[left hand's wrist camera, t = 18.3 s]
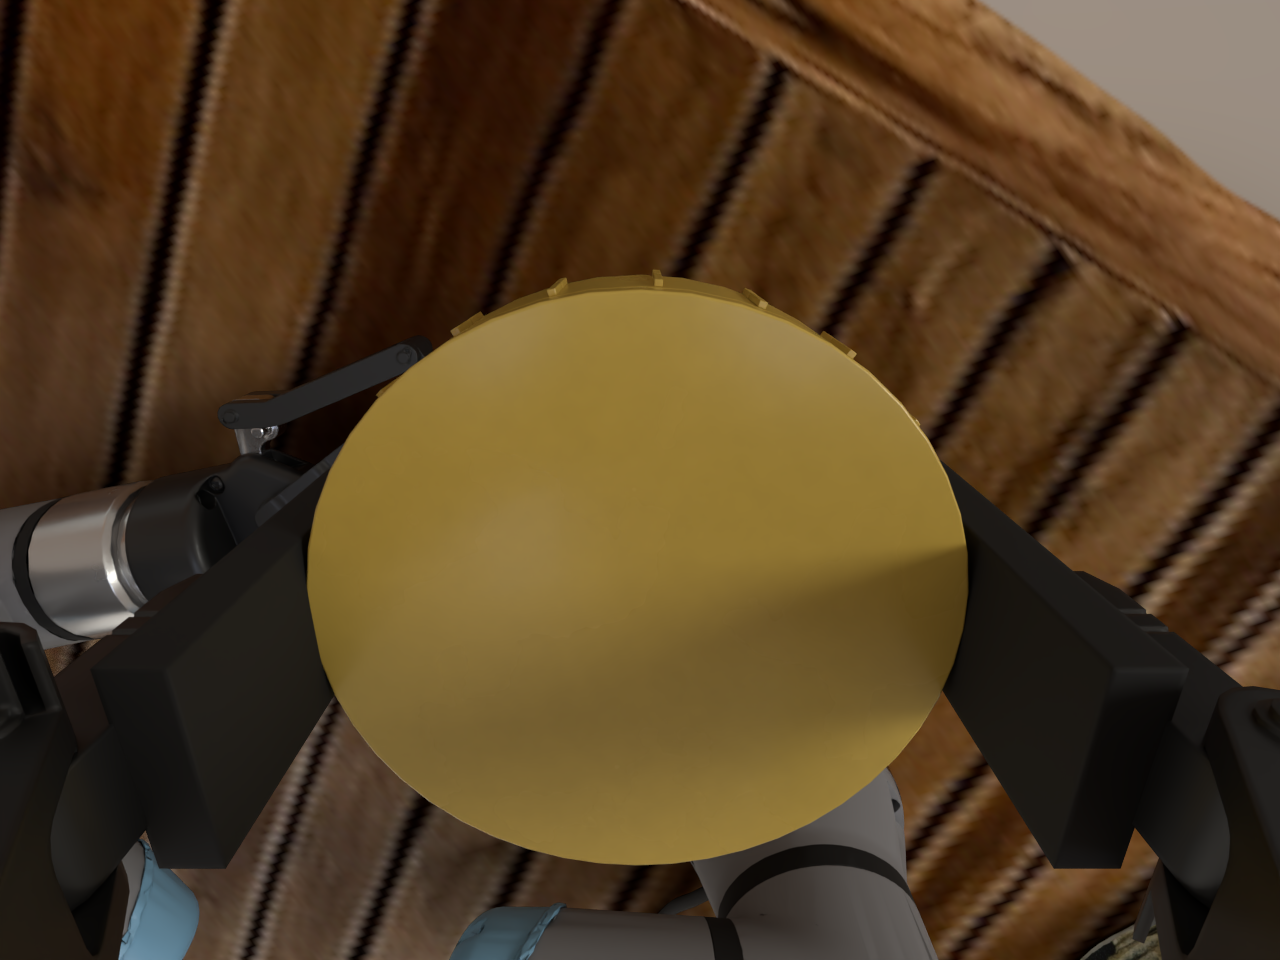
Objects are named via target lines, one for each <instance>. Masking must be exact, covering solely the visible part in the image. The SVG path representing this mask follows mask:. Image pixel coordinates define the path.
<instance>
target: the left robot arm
mask: <svg viewBox="0 0 1280 960" xmlns="http://www.w3.org/2000/svg"><path fill="white" fill-rule="evenodd" d="M939 460H940V459H939ZM940 462H941V464H942V466H943V468H944V470H945V472H946V474H947V475H948V478H949V481H950V484H951V487H952V490H953V493H954V496H955V499H956V501H957V504H958V507H959V510H960V513H961V518H962V524H963V529H964V535H965V541H966V546H967V552H968V600H967V607H966V615H965V622H964V630H963V633H962V637H961V640H960V644H959V647H958V651H957V654H956V658H955V661H954V665H953V667H952V669H951V671H950V674H949V676H948V678H947V680H946V683H945V685H944V687H943V689H942V691H943V692H944V694H945V695H946V697H947V699H948V700H949V702H950V703H951V705H952V707H953V708H954V710H955V711H956V713H957V715H958V716H959V718H960V719H961V721H962V723H963V724H964V726H965V727H966V729H967V731H968V732H969V734H970V735H971V737H972V739H973V740H974V742H975V743H976V745H977V747H978V748H979V750H980V751H981V753H982V754H983V756H984V758H985V759H986V761H987V762H988V764H989V766H990V767H991V769H992V770H993V772H994V774H995V775H996V777H997V778H998V780H999V782H1000V783H1001V785H1002V786H1003V788H1004V790H1005V791H1006V793H1007V794H1008V796H1009V798H1010V799H1011V801H1012V802H1013V804H1014V806H1015V807H1016V809H1017V810H1018V812H1019V814H1020V815H1021V817H1022V818H1023V820H1024V822H1025V823H1026V825H1027V826H1028V828H1029V830H1030V831H1031V833H1032V834H1033V836H1034V838H1035V839H1036V841H1037V842H1038V844H1039V845H1040V847H1041V849H1042V850H1043V852H1044V853H1045V855H1046V857H1047V858H1048V860H1049V861H1050V863H1051V865H1052V866H1053V868H1054V869H1121V866H1122V863H1123V860H1124V857H1125V854H1126V851H1127V848H1128V845H1129V843H1130V840H1131V837H1132V834H1133V831H1134V828H1136V829H1137V831H1138V832H1139V833H1140V834H1141V836H1142V837H1143V838H1144V839H1145V841H1146V842H1147V843H1148V844H1149V846H1150V847H1151V848H1152V850H1153V851H1154V852H1155V853H1156V855H1157V856H1158V857H1159V860H1158V862H1157V865H1156V868H1155V870H1154V873H1153V876H1152V878H1151V881H1150V884H1149V887H1148V889H1147V892H1146V895H1145V897H1144V900H1143V903H1142V905H1141V908H1140V911H1139V913H1138V916H1137V919H1136V922H1135V925H1134V932H1133V938H1132V939H1133V940H1136V941H1138V942H1141V943H1145V940H1146V938H1147V935H1148V933H1149V930H1150V927H1152V926H1154V925H1156V927H1157V933H1158V940H1159V946H1160V952H1161V958H1162V960H1280V690H1275V689H1268V688H1262V687H1256V686H1249V687H1242V686H1241V685H1240V684H1239V683H1237V682H1236V681H1235V680H1234V679H1232V678H1231V677H1230V676H1229V675H1227V674H1226V673H1225V672H1224V671H1222V670H1221V669H1220V668H1219V667H1217V666H1216V665H1215V664H1213V663H1212V662H1211V661H1210V660H1208V659H1207V658H1206V657H1205V656H1203V655H1202V654H1201V653H1200V652H1198V651H1197V650H1196V649H1195V648H1193V647H1192V646H1191V645H1190V644H1188V643H1187V642H1186V641H1185V640H1183V639H1182V638H1181V637H1179V636H1178V635H1177V634H1176V633H1174V632H1169V631H1168V627H1167V626H1166V625H1164V624H1163V623H1162V622H1161V621H1159V620H1158V619H1157V618H1156V617H1154V616H1153V615H1152V614H1146V609H1144V608H1143V607H1142V606H1140V605H1139V604H1138V603H1137V602H1135V601H1134V600H1133V599H1132V598H1130V597H1129V596H1128V595H1127V594H1125V593H1124V592H1123V591H1122V590H1120V589H1119V588H1117V587H1115V586H1113V585H1111V584H1108V583H1106V582H1104V581H1102V580H1100V579H1098V578H1096V577H1094V576H1092V575H1090V574H1088V573H1086V572H1084V571H1072V570H1071V569H1070V568H1068V567H1067V566H1066V565H1065V564H1064V563H1063V562H1061V561H1060V560H1059V559H1058V558H1057V557H1055V556H1054V555H1053V554H1052V553H1051V552H1049V551H1048V550H1047V549H1046V548H1045V547H1043V546H1042V545H1041V544H1040V543H1039V542H1037V541H1036V540H1035V539H1034V538H1033V537H1032V536H1030V535H1029V534H1028V533H1027V532H1026V531H1024V530H1023V529H1022V528H1021V527H1020V526H1018V525H1017V524H1016V523H1015V522H1014V521H1012V520H1011V519H1010V518H1009V517H1008V516H1007V515H1005V514H1004V513H1003V512H1002V511H1001V510H999V509H998V508H997V507H996V506H995V505H993V504H992V503H991V502H990V501H989V500H987V499H986V498H985V497H984V496H983V495H981V494H980V493H979V492H978V491H977V490H976V489H974V488H973V487H972V486H971V485H970V484H968V483H967V482H966V481H965V480H964V479H962V478H961V477H960V476H959V475H958V474H956V473H955V472H954V471H953V470H952V469H951V468H949V467H948V466H947V465H946V464H945V463H943V462H942V461H941V460H940ZM331 467H332V466H331ZM331 467H330V468H329V469H328V470H327V471H325V472H324V473H323V474H322V475H321V476H319V477H318V478H317V479H316V480H315V481H314V482H312V483H311V484H310V485H309V486H308V487H306V488H305V489H304V490H303V491H302V492H300V493H299V494H298V495H297V496H296V497H294V498H293V499H292V500H291V501H290V502H288V503H287V504H286V505H285V506H284V507H283V508H281V509H280V510H279V511H278V512H277V513H275V514H274V515H273V516H272V517H271V518H269V519H268V520H267V521H266V522H265V523H263V524H262V525H261V526H260V527H259V528H257V529H256V530H255V531H254V532H253V533H252V534H250V535H249V536H248V537H247V538H246V539H244V540H243V541H242V542H241V543H240V544H238V545H237V546H236V547H235V548H234V549H232V550H231V551H230V552H229V553H228V554H227V555H225V556H224V557H223V558H222V559H221V560H219V561H218V562H217V563H216V564H215V565H213V566H212V567H211V568H210V569H209V570H207V571H206V572H205V573H204V574H195V575H193V576H191V577H189V578H187V579H185V580H183V581H181V582H179V583H177V584H175V585H173V586H171V587H169V588H167V589H165V590H163V591H161V592H159V593H158V594H157V595H156V596H154V597H153V598H152V599H151V600H149V601H148V602H147V603H146V604H144V605H143V606H142V607H141V608H139V609H138V610H137V611H136V612H134V617H128V618H127V619H126V620H124V621H123V622H122V623H121V624H119V625H118V626H117V627H116V628H114V629H113V630H112V635H106V636H104V637H103V638H102V639H101V640H99V641H98V642H97V643H96V644H94V645H93V646H92V647H91V648H89V649H88V650H87V651H86V652H84V653H83V654H82V655H81V656H79V657H78V658H77V659H76V660H74V661H73V662H72V663H71V664H69V665H68V666H67V667H66V668H64V669H63V670H62V671H61V672H59V673H58V674H57V675H56V676H53V673H52V671H51V668H50V665H49V663H48V660H47V657H46V654H45V652H44V649H43V646H42V644H41V641H40V638H39V636H38V633H37V630H36V629H34V628H32V627H30V626H29V625H27V624H25V623H16V622H0V960H119V954H120V948H121V942H122V936H123V930H124V924H125V918H126V912H127V905H128V899H129V893H130V889H129V882H128V876H127V873H126V870H125V868H124V865H123V862H122V859H123V858H124V857H125V855H126V854H127V853H128V852H129V850H130V849H131V848H132V847H133V845H134V844H135V843H136V842H137V840H138V839H139V838H140V837H141V835H142V834H143V833H144V832H145V830H146V833H147V836H148V838H149V841H150V844H151V847H152V850H153V853H154V856H155V859H156V862H157V864H158V867H159V869H226V867H227V865H228V864H229V862H230V861H231V859H232V857H233V856H234V854H235V853H236V851H237V850H238V848H239V846H240V845H241V843H242V842H243V840H244V838H245V837H246V835H247V834H248V832H249V830H250V829H251V827H252V826H253V824H254V822H255V821H256V819H257V818H258V816H259V814H260V813H261V811H262V810H263V808H264V806H265V805H266V803H267V802H268V800H269V798H270V797H271V795H272V794H273V792H274V790H275V789H276V787H277V786H278V784H279V782H280V781H281V779H282V778H283V776H284V774H285V773H286V771H287V770H288V768H289V767H290V765H291V763H292V762H293V760H294V759H295V757H296V755H297V754H298V752H299V751H300V749H301V747H302V746H303V744H304V743H305V741H306V739H307V738H308V736H309V735H310V733H311V731H312V730H313V728H314V727H315V725H316V723H317V722H318V720H319V719H320V717H321V715H322V714H323V712H324V711H325V709H326V707H327V706H328V704H329V703H330V701H331V699H332V698H333V696H334V695H335V694H334V692H333V689H332V687H331V685H330V682H329V680H328V678H327V675H326V673H325V671H324V668H323V666H322V662H321V658H320V653H319V648H318V643H317V638H316V633H315V628H314V623H313V618H312V613H311V608H310V603H309V597H308V592H307V586H306V582H307V556H308V544H309V539H310V534H311V529H312V524H313V519H314V514H315V509H316V506H317V503H318V501H319V498H320V495H321V492H322V490H323V487H324V484H325V481H326V479H327V476H328V473H329V470H330V469H331ZM690 862H691V864H692V865H693V867H694V869H695V871H696V873H697V874H698V876H699V878H700V881H701V883H702V885H703V887H701V888H699V889H697V890H695V891H693V892H691V893H688V894H686V895H683V896H680V897H678V898H676V899H674V900H672V901H671V902H669V903H668V904H667V905H665V906H664V908H663V909H662V910H661V911H660V912H659V913H658V914H653V913H638V912H623V911H608V910H593V909H578V908H567V907H566V904H564V903H555V904H553V905H552V906H551V907H497V908H493V909H490V910H488V911H486V912H484V913H483V914H481V915H480V916H479V917H477V918H476V919H475V920H474V921H473V922H472V923H471V924H470V925H469V927H468V928H467V929H466V930H465V932H464V933H463V935H462V936H461V938H460V940H459V942H458V943H457V945H456V947H455V949H454V951H453V953H452V955H451V957H450V959H449V960H938V958H937V955H936V953H935V950H934V948H933V946H932V943H931V941H930V938H929V936H928V933H927V931H926V929H925V926H924V924H923V921H922V919H921V916H920V914H919V912H918V910H917V907H916V905H915V902H914V900H913V897H912V895H911V892H910V890H909V887H908V885H907V877H906V855H905V837H904V814H903V806H902V802H901V796H900V793H899V789H898V787H897V785H896V782H895V780H894V778H893V776H892V773H891V771H890V769H889V767H888V766H887V767H886V768H885V769H884V770H883V771H882V772H881V773H880V774H879V775H878V776H877V777H876V778H875V779H873V780H872V781H871V782H870V783H869V784H868V785H866V786H865V787H864V788H862V789H861V790H860V791H859V792H857V793H856V794H855V795H853V796H852V797H851V798H849V799H848V800H847V801H845V802H844V803H843V804H841V805H840V806H838V807H836V808H835V809H833V810H831V811H830V812H828V813H826V814H825V815H823V816H821V817H820V818H818V819H817V820H815V821H813V822H812V823H810V824H807V825H805V826H803V827H801V828H799V829H797V830H795V831H792V832H790V833H788V834H786V835H784V836H782V837H780V838H777V839H774V840H772V841H769V842H766V843H763V844H760V845H757V846H754V847H751V848H748V849H746V850H742V851H738V852H734V853H730V854H726V855H721V856H717V857H713V858H709V859H702V860H695V861H690ZM707 900H709V901H710V904H711V906H712V908H713V910H714V913H715V915H716V917H717V918H715V917H702V916H683V915H676V914H677V913H679V912H681V911H684V910H687V909H690V908H693V907H695V906H697V905H699V904H701V903H703V902H705V901H707Z"/></svg>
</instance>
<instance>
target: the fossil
mask: <svg viewBox="0 0 1280 960" xmlns="http://www.w3.org/2000/svg"><path fill="white" fill-rule="evenodd" d="M1134 925H1135V924H1134ZM1134 925H1132V926H1130V927H1128V928H1126V929H1124V930H1122V931H1120V932H1119V933H1117V934H1115V935H1113V936H1111V937H1109V938H1108V939H1106V940H1105V941H1103V942H1101V943H1099V944H1098V945H1097V946H1095V947H1094V948H1093V949H1091V950H1090V951H1089V952H1088V953H1087V954H1086V955H1085V956H1084V957H1083V958H1082V959H1080V960H1162V958H1161V952H1160V946H1159V940H1158V933H1157V927H1156V925H1154V926H1152V927H1150V930H1149V933H1148V935H1147V938H1146V940H1145V943H1141V942H1138V941H1136V940H1133V939H1132V938H1133V932H1134Z"/></svg>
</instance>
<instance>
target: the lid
mask: <svg viewBox="0 0 1280 960" xmlns="http://www.w3.org/2000/svg"><path fill="white" fill-rule="evenodd" d="M451 333H452V334H453V336H454V337H453V338H451V339H450V340H448V341H447V342H445V343H444V344H443V345H441V346H440V347H438V348H437V349H436V350H434V351H433V352H431V353H430V354H428V355H427V356H426V357H424V358H423V359H421V360H420V361H418V362H417V363H416V364H414V365H413V366H411V367H410V368H409V369H408V370H407V371H406V372H405V373H404V374H403V375H401V376H400V377H398V378H397V379H395V380H394V381H393V382H391V383H390V384H388V385H387V386H385V387H384V388H383V389H381V390H380V391H379V392H378V393H377V396H378V398H377V399H376V401H375V402H374V403H373V405H372V406H371V407H370V408H369V410H368V411H367V412H366V414H365V415H364V416H363V417H362V419H361V420H360V421H359V423H358V424H357V425H356V426H355V428H354V429H353V430H352V432H351V433H350V434H349V436H348V438H347V440H346V442H345V443H344V445H343V447H342V449H341V451H340V452H339V454H338V456H337V458H336V460H335V461H334V463H333V465H332V467H331V469H330V470H329V473H328V476H327V479H326V481H325V484H324V487H323V490H322V492H321V495H320V498H319V501H318V503H317V506H316V509H315V514H314V519H313V524H312V529H311V534H310V539H309V544H308V556H307V582H306V586H307V592H308V597H309V603H310V608H311V613H312V618H313V623H314V628H315V633H316V638H317V643H318V648H319V653H320V658H321V662H322V666H323V668H324V671H325V673H326V675H327V678H328V680H329V682H330V685H331V687H332V689H333V692H334V694H335V696H336V697H337V699H338V701H339V702H340V704H341V706H342V707H343V709H344V711H345V712H346V714H347V716H348V717H349V719H350V721H351V722H352V724H353V726H354V727H355V728H356V730H357V731H358V732H359V733H360V735H361V736H362V737H363V738H364V740H365V741H366V742H367V743H368V745H369V746H370V747H371V749H372V750H373V751H374V752H375V754H376V755H377V756H378V757H379V758H380V759H381V760H382V761H383V762H384V763H385V764H386V765H387V766H388V767H389V768H390V769H391V770H392V771H393V772H394V773H395V774H396V775H398V776H399V777H400V778H401V779H402V780H403V781H404V782H405V783H407V784H408V785H409V786H410V787H412V788H413V789H414V790H416V791H417V792H418V793H419V794H421V795H422V796H423V797H425V798H426V799H427V800H428V801H430V802H431V803H433V804H434V805H436V806H438V807H439V808H441V809H442V810H444V811H446V812H447V813H449V814H451V815H452V816H454V817H455V818H457V819H459V820H460V821H462V822H464V823H466V824H468V825H470V826H473V827H475V828H477V829H479V830H481V831H483V832H485V833H487V834H489V835H491V836H493V837H496V838H499V839H502V840H504V841H507V842H510V843H513V844H515V845H518V846H521V847H524V848H526V849H530V850H534V851H538V852H542V853H546V854H550V855H554V856H558V857H562V858H567V859H574V860H581V861H587V862H594V863H603V864H622V865H653V864H674V863H681V862H688V861H695V860H702V859H709V858H713V857H717V856H721V855H726V854H730V853H734V852H738V851H742V850H746V849H748V848H751V847H754V846H757V845H760V844H763V843H766V842H769V841H772V840H774V839H777V838H780V837H782V836H784V835H786V834H788V833H790V832H792V831H795V830H797V829H799V828H801V827H803V826H805V825H807V824H810V823H812V822H813V821H815V820H817V819H818V818H820V817H821V816H823V815H825V814H826V813H828V812H830V811H831V810H833V809H835V808H836V807H838V806H840V805H841V804H843V803H844V802H845V801H847V800H848V799H849V798H851V797H852V796H853V795H855V794H856V793H857V792H859V791H860V790H861V789H862V788H864V787H865V786H866V785H868V784H869V783H870V782H871V781H872V780H873V779H875V778H876V777H877V776H878V775H879V774H880V773H881V772H882V771H883V770H884V769H885V768H886V767H887V766H888V765H889V764H890V763H891V762H892V761H893V760H894V759H895V758H896V757H897V756H898V755H899V754H900V752H901V751H902V750H903V749H904V747H905V746H906V745H907V744H908V743H909V741H910V740H911V739H912V738H913V736H914V735H915V734H916V733H917V731H918V730H919V729H920V727H921V726H922V724H923V723H924V721H925V719H926V718H927V716H928V714H929V713H930V711H931V710H932V708H933V706H934V705H935V703H936V701H937V700H938V698H939V696H940V694H941V692H942V689H943V687H944V685H945V683H946V680H947V678H948V676H949V674H950V671H951V669H952V667H953V665H954V661H955V658H956V654H957V651H958V647H959V644H960V640H961V637H962V633H963V630H964V622H965V615H966V607H967V600H968V552H967V546H966V541H965V535H964V529H963V524H962V518H961V513H960V510H959V507H958V504H957V501H956V499H955V496H954V493H953V490H952V487H951V484H950V481H949V478H948V475H947V474H946V472H945V470H944V468H943V466H942V464H941V462H940V460H939V458H938V457H937V455H936V453H935V451H934V449H933V447H932V445H931V443H930V441H929V440H928V438H927V437H926V435H925V434H924V433H923V431H922V430H921V429H920V427H919V425H920V423H919V422H918V420H917V419H916V418H915V417H913V416H912V415H911V414H909V412H908V411H907V410H906V408H905V407H904V406H903V404H902V403H901V402H900V401H899V400H898V399H897V398H896V397H895V396H894V395H893V394H892V393H891V392H890V391H889V390H888V389H887V388H886V387H885V386H884V385H883V384H882V383H881V382H880V381H879V380H878V379H877V378H876V377H875V376H874V375H872V374H871V373H870V372H869V371H868V370H867V369H865V368H864V367H863V366H861V365H860V364H859V363H857V362H856V361H854V360H853V358H854V357H855V356H856V353H855V352H854V351H853V350H851V349H850V348H848V347H847V346H845V345H844V344H842V343H841V342H839V341H838V340H836V339H835V338H833V337H832V336H830V335H829V334H827V333H826V332H824V331H823V332H822V334H821V335H818V334H817V333H816V332H814V331H813V330H811V329H810V328H809V327H807V326H806V325H804V324H803V323H801V322H800V321H799V320H797V319H795V318H793V317H791V316H789V315H787V314H786V313H784V312H782V311H780V310H778V309H776V308H774V307H773V306H771V305H769V304H768V303H767V302H766V301H765V300H763V299H762V298H761V297H759V296H758V295H756V294H755V293H754V292H752V291H751V290H749V289H746V288H744V290H743V293H739V292H736V291H733V290H731V289H728V288H725V287H722V286H717V285H712V284H708V283H703V282H698V281H694V280H689V279H685V278H675V277H662V276H661V273H660V270H652V276H649V275H629V276H612V277H597V278H592V279H587V280H582V281H577V282H572V283H567V279H566V278H562V279H559V280H558V281H557V282H556V283H555V284H553V285H552V286H551V287H550V288H548V289H545V290H542V291H539V292H537V293H534V294H531V295H528V296H525V297H522V298H519V299H517V300H515V301H513V302H511V303H509V304H507V305H505V306H503V307H501V308H499V309H497V310H495V311H493V312H491V313H489V314H487V315H485V316H483V314H482V313H481V312H479V313H477V314H476V315H474V316H472V317H471V318H469V319H468V320H466V321H465V322H463V323H462V324H460V325H459V326H457V327H455V328H454V329H452V330H451Z"/></svg>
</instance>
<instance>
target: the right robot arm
mask: <svg viewBox="0 0 1280 960" xmlns="http://www.w3.org/2000/svg"><path fill="white" fill-rule="evenodd" d="M432 350H433V348H432V344H431V342H430V341H429V340H428V339H427V338H426V337H424V336H420V335H417V336H413V337H411V338H409V339H406V340H404V341H402V342H399V343H397V344H395V345H392V346H390V347H388V348H386V349H383V350H381V351H379V352H376V353H374V354H372V355H369V356H367V357H365V358H362V359H360V360H358V361H356V362H353V363H351V364H349V365H346V366H344V367H342V368H339V369H337V370H335V371H332V372H330V373H328V374H326V375H323V376H321V377H319V378H316V379H314V380H312V381H309V382H307V383H305V384H302V385H300V386H298V387H296V388H293V389H291V390H282V391H257V392H251V393H249V394H247V395H244V396H242V397H240V398H238V399H235V400H233V401H231V402H229V403H226V404H224V405H222V406H221V407H220V408H219V410H218V418H219V421H220V422H221V423H222V424H223V425H224V426H225V427H227V428H229V429H234V430H235V434H236V437H237V441H238V445H239V449H240V453H241V455H240V456H239V457H237V458H236V459H235V460H234V461H233V462H232V463H229V464H224V465H219V466H214V467H209V468H204V469H199V470H194V471H189V472H184V473H179V474H174V475H169V476H164V477H161V478H158V479H156V480H150V481H139V482H134V483H129V484H124V485H119V486H114V487H109V488H104V489H99V490H94V491H89V492H84V493H79V494H76V495H73V496H67V497H63V498H59V499H54V500H48V501H43V502H38V503H32V504H27V505H22V506H16V507H11V508H6V509H1V510H0V622H16V623H25V624H27V625H29V626H30V627H32V628H34V629H36V630H37V633H38V636H39V638H40V641H41V644H42V646H43V649H44V650H45V649H49V648H54V647H59V646H64V645H69V644H74V643H79V642H84V641H89V640H94V639H100V638H103V637H104V636H106V635H112V630H113V629H114V628H116V627H117V626H118V625H119V624H121V623H122V622H123V621H124V620H126V619H127V618H128V617H134V612H136V611H137V610H138V609H139V608H141V607H142V606H143V605H144V604H146V603H147V602H148V601H149V600H151V599H152V598H153V597H154V596H156V595H157V594H158V593H159V592H161V591H163V590H165V589H167V588H169V587H171V586H173V585H175V584H177V583H179V582H181V581H183V580H185V579H187V578H189V577H191V576H193V575H195V574H204V573H205V572H206V571H207V570H209V569H210V568H211V567H212V566H213V565H215V564H216V563H217V562H218V561H219V560H221V559H222V558H223V557H224V556H225V555H227V554H228V553H229V552H230V551H231V550H232V549H234V548H235V547H236V546H237V545H238V544H240V543H241V542H242V541H243V540H244V539H246V538H247V537H248V536H249V535H250V534H252V533H253V532H254V531H255V530H256V529H257V528H259V527H260V526H261V525H262V524H263V523H265V522H266V521H267V520H268V519H269V518H271V517H272V516H273V515H274V514H275V513H277V512H278V511H279V510H280V509H281V508H283V507H284V506H285V505H286V504H287V503H288V502H290V501H291V500H292V499H293V498H294V497H296V496H297V495H298V494H299V493H300V492H302V491H303V490H304V489H305V488H306V487H308V486H309V485H310V484H311V483H312V482H314V481H315V480H316V479H317V478H318V477H319V476H321V475H322V474H323V473H324V472H325V471H327V470H328V469H329V468H330V467H331V466H332V465H333V463H334V461H335V460H336V458H337V456H338V454H339V452H340V451H341V449H342V447H343V445H344V443H343V444H342V445H341V446H340V447H338V448H337V449H336V450H334V451H333V452H332V453H331V454H329V455H328V456H327V457H325V458H324V459H323V460H322V461H320V462H319V463H318V464H316V465H314V464H311V463H309V462H306V461H304V460H301V459H299V458H296V457H294V456H291V455H289V454H286V453H284V452H281V451H279V450H276V449H274V448H271V447H270V442H271V440H272V439H274V438H275V437H277V436H279V435H280V434H282V433H283V432H285V430H286V428H287V422H289V421H292V420H294V419H297V418H299V417H301V416H304V415H306V414H308V413H311V412H313V411H315V410H318V409H320V408H322V407H325V406H327V405H329V404H332V403H334V402H336V401H339V400H341V399H343V398H346V397H348V396H350V395H353V394H355V393H357V392H360V391H362V390H365V389H367V388H369V387H372V386H374V385H376V384H379V383H381V382H383V381H386V380H388V379H390V378H393V377H395V376H397V375H400V374H402V373H404V372H406V371H407V370H408V369H409V368H410V367H411V366H413V365H414V364H416V363H417V362H418V361H420V360H421V359H423V358H424V357H426V356H427V355H428V354H430V353H431V352H433V351H432ZM122 862H123V865H124V868H125V870H126V873H127V876H128V882H129V889H130V893H129V899H128V905H127V912H126V918H125V924H124V930H123V936H122V942H121V948H120V954H119V960H182V959H183V958H184V956H185V954H186V952H187V950H188V948H189V946H190V944H191V942H192V940H193V938H194V935H195V932H196V929H197V926H198V921H199V905H198V901H197V899H196V897H195V895H194V893H193V892H192V891H191V890H190V889H189V888H188V887H187V886H186V885H185V884H184V883H183V882H182V881H181V880H180V879H179V878H178V877H177V876H176V875H175V874H174V873H173V872H172V871H171V870H170V869H159V867H158V864H157V862H156V859H155V856H154V853H153V851H152V850H151V848H150V846H149V844H148V843H147V842H145V841H144V840H142V839H138V840H137V842H136V843H135V844H134V845H133V847H132V848H131V849H130V850H129V852H128V853H127V854H126V855H125V857H124V858H123V859H122Z"/></svg>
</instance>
